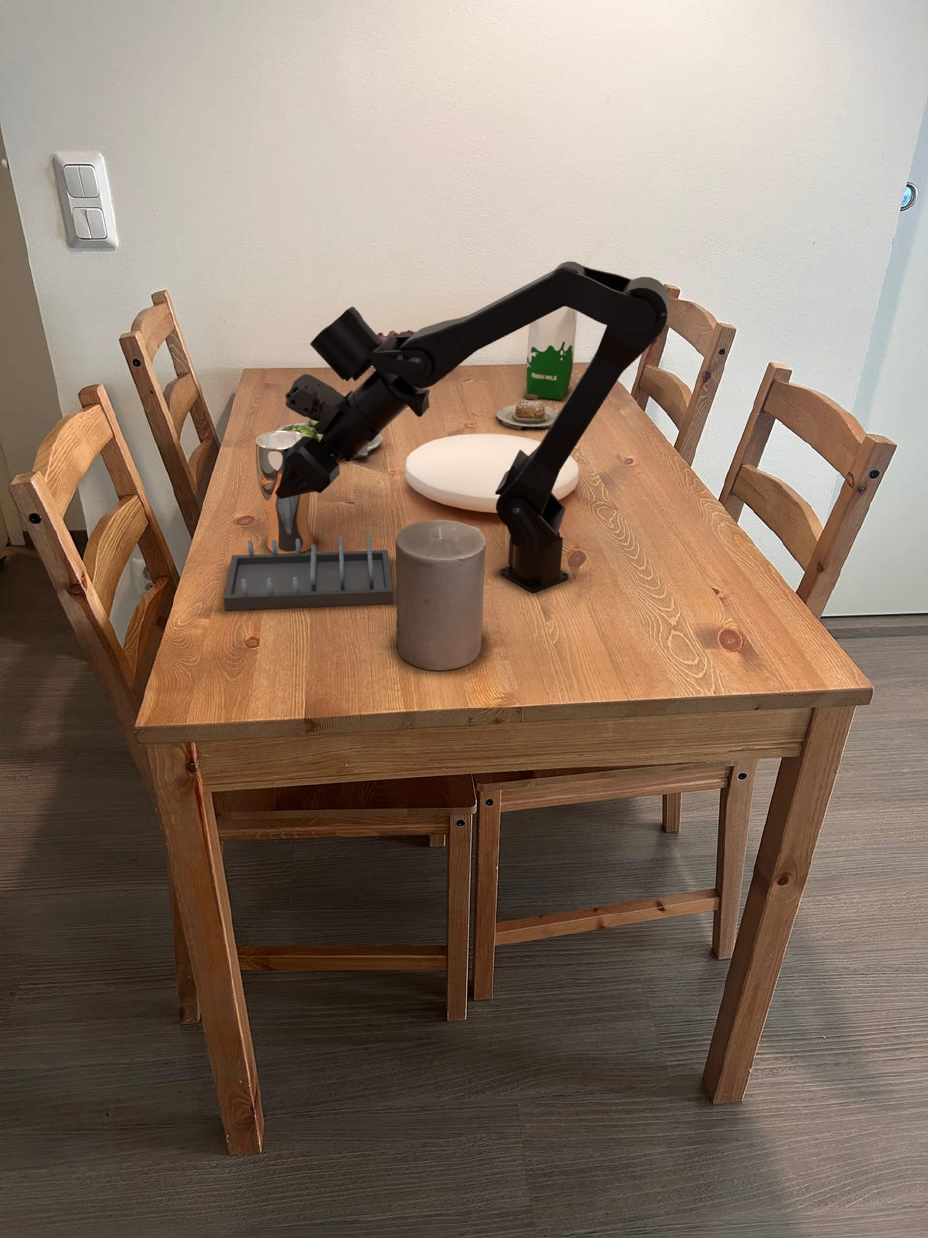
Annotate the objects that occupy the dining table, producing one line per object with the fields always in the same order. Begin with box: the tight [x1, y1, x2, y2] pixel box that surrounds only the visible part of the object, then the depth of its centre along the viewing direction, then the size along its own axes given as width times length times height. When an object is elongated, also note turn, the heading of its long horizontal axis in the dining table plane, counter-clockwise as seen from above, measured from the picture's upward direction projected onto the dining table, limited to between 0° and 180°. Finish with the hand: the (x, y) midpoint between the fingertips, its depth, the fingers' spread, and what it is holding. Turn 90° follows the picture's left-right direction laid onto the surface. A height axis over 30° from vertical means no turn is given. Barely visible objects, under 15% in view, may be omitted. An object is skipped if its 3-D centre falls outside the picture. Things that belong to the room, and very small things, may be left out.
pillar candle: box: [395, 519, 487, 671], centre depth 101 cm, size 10×10×15 cm
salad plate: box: [275, 419, 383, 463], centre depth 156 cm, size 19×18×5 cm
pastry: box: [496, 394, 560, 431], centre depth 170 cm, size 12×12×5 cm
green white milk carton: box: [526, 306, 578, 401], centre depth 180 cm, size 9×9×20 cm
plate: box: [404, 433, 580, 514], centre depth 142 cm, size 28×6×27 cm
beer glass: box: [255, 430, 314, 554], centre depth 122 cm, size 7×7×15 cm
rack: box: [223, 534, 394, 612], centre depth 115 cm, size 20×11×5 cm, turn 97°
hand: (292, 482), depth 121 cm, fingers open, 9 cm apart
